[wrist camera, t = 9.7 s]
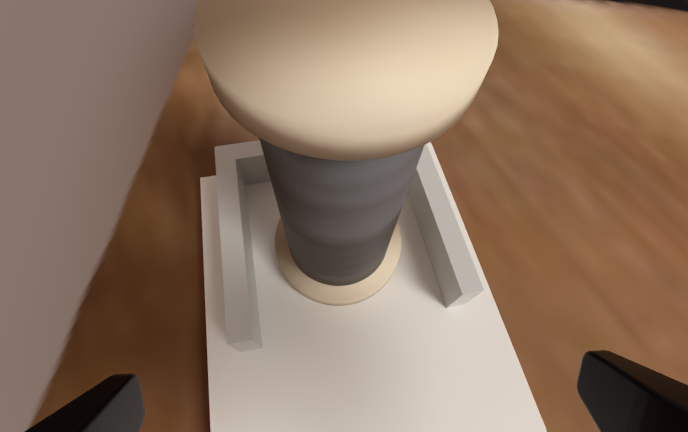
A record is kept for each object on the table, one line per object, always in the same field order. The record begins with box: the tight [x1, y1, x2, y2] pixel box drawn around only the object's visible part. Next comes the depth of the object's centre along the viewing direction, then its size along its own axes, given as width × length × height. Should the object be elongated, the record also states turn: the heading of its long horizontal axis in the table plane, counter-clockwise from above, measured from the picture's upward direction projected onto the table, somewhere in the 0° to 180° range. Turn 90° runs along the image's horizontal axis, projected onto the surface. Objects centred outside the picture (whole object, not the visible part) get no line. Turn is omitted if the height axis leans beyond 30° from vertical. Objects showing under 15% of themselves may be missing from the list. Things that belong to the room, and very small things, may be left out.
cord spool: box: [193, 0, 498, 306], centre depth 14 cm, size 6×6×13 cm
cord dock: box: [200, 140, 547, 432], centre depth 18 cm, size 17×14×4 cm
